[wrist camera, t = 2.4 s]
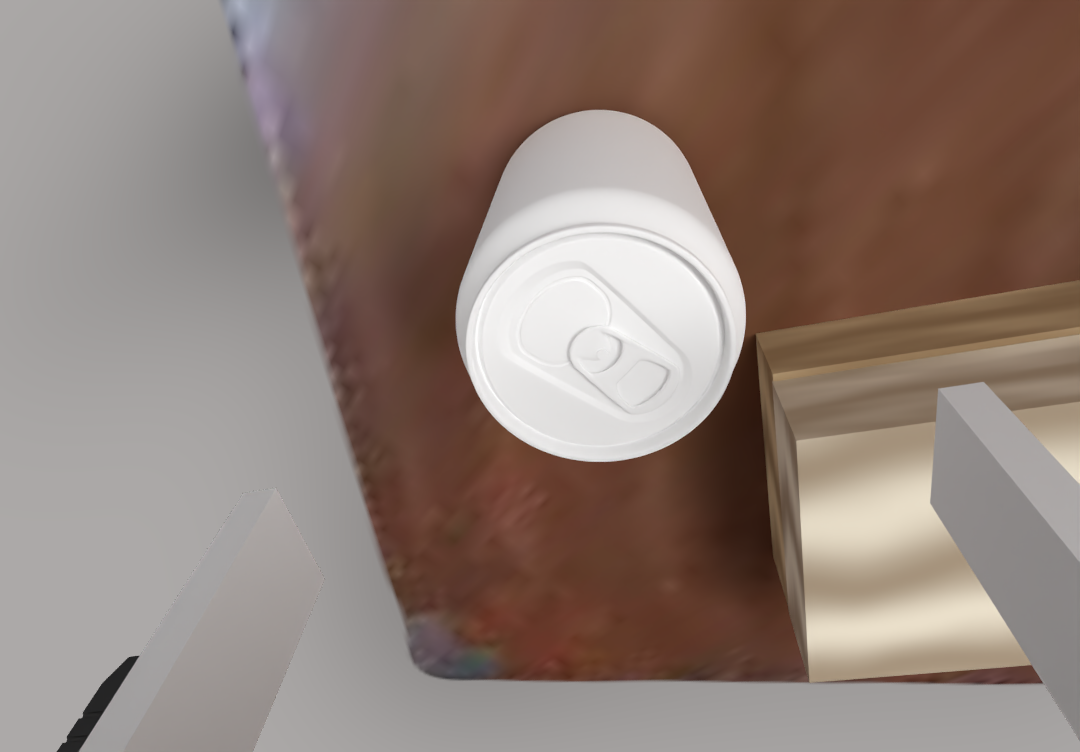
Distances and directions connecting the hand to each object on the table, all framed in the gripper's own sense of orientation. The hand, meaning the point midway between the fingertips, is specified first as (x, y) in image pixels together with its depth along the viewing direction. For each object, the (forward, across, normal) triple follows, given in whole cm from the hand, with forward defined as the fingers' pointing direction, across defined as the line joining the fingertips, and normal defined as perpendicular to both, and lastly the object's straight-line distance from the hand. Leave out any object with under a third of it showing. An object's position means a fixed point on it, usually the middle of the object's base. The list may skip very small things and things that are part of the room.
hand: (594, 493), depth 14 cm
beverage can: (+17, 0, 0) cm, 17 cm away
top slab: (+14, +13, -14) cm, 24 cm away
